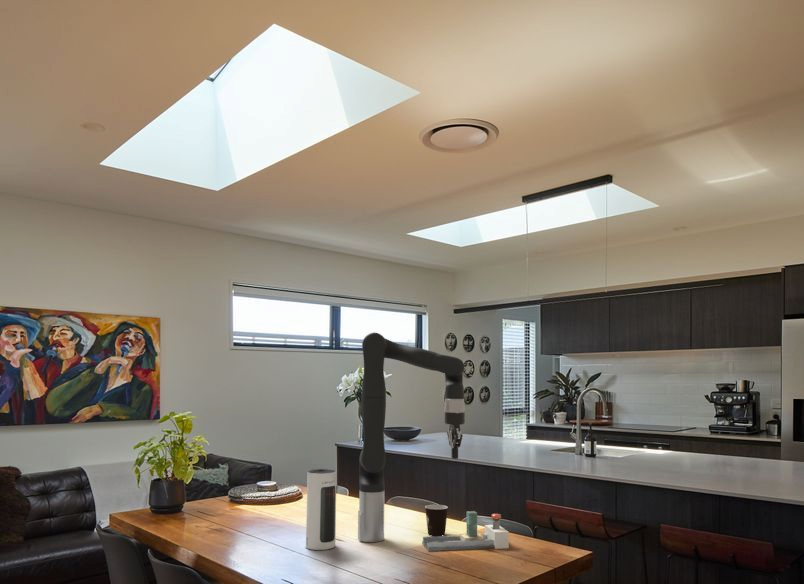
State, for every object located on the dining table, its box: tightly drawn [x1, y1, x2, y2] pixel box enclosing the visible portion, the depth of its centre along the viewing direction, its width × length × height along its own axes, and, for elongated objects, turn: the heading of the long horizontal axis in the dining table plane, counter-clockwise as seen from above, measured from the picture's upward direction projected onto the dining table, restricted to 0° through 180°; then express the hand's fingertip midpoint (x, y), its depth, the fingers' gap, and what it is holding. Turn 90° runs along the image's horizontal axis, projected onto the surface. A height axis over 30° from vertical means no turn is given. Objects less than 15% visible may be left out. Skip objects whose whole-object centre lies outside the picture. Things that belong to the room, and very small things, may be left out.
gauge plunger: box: [491, 513, 502, 530], centre depth 221 cm, size 3×3×9 cm
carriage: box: [459, 510, 484, 540], centre depth 219 cm, size 7×5×10 cm
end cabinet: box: [484, 524, 510, 550], centre depth 220 cm, size 5×11×6 cm, turn 11°
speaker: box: [305, 468, 337, 551], centre depth 217 cm, size 11×10×26 cm
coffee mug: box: [424, 504, 449, 536], centre depth 236 cm, size 12×9×10 cm
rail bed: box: [421, 533, 495, 552], centre depth 218 cm, size 27×10×3 cm, turn 101°
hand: (454, 458), depth 229 cm, fingers closed
